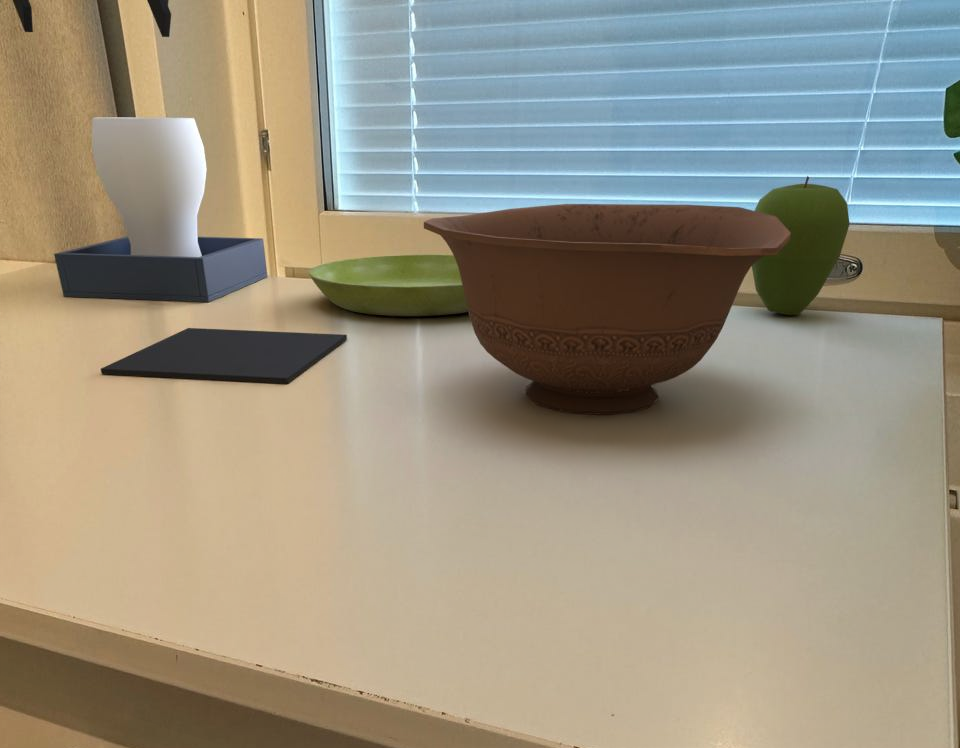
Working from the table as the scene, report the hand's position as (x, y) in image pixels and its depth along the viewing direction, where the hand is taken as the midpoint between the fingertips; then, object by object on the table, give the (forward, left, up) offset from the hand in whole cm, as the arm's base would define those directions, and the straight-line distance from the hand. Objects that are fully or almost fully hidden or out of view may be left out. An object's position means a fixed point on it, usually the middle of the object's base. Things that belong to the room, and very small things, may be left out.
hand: (100, 23), depth 90 cm
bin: (+7, -8, -24) cm, 26 cm away
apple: (+70, -11, -24) cm, 75 cm away
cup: (+7, -8, -23) cm, 26 cm away
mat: (+26, -36, -24) cm, 50 cm away
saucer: (+35, -12, -24) cm, 44 cm away
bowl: (+54, -42, -24) cm, 73 cm away
